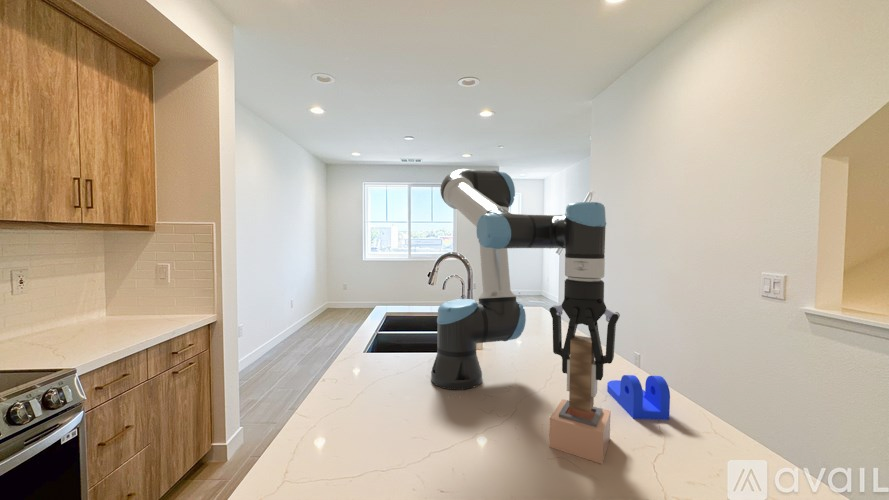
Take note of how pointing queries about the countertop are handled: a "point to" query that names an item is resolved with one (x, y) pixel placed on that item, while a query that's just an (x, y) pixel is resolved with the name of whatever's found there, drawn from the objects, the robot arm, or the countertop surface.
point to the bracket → (642, 397)
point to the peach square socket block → (580, 431)
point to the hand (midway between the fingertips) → (581, 391)
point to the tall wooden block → (581, 373)
